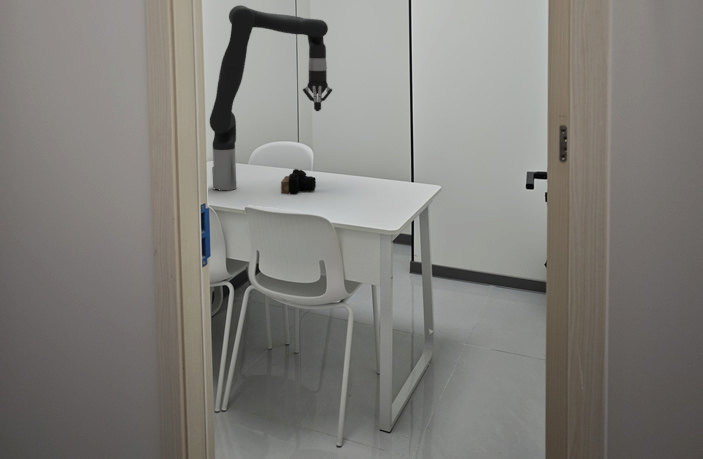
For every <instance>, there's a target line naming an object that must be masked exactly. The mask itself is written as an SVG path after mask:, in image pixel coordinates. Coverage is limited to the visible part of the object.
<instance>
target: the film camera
mask: <svg viewBox="0 0 703 459" xmlns="http://www.w3.org/2000/svg"><path fill="white" fill-rule="evenodd" d="M288 176H289V195H293V196H294V195H297V194H299V193H300V192H312V191H313V192H314V191H316V186H317V185H316V184H317V179H316V177H313V176H308V175H307V172H305V171H304V170H302V169H298V168H294V169H293V170H292V173H289V175H288Z"/></svg>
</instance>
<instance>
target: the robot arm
mask: <svg viewBox="0 0 703 459" xmlns="http://www.w3.org/2000/svg"><path fill="white" fill-rule="evenodd" d="M228 20H229V22H230V24H231V30H230V37H229V40H228V41H229V42H228V45H227V48H226V50H225V52H224V55H222V56H223V57H222V60H221V64H220V68H219V75H218V81H217V85H216V86H217V87H216V94H215V95H216V96H215V101H214V104H213V106H212V110H211V114H210V116H209V126H210V129H211V130H212V131H213V132H214V134H213V140H212V158H213V159H212V161H213V166H212V168H211V170H212V171H211V172H212V173H211V174H212V189H213V188H215V189H220V190H219V191H222V190H227V191H234V190H235V189H237V166H236V165H237V164H236V160H237V159H236V142H237V121H236V120H237V119H236V117H235V114H234V113H233V112H232V111H233V105H234V102H235V98H236V96H237V94H238V91H239V90H240V86H241V84H242V81H243V75H244V71H245V65H246V59H247V51H248V46H249V40H250V37H251V34H252V30H253V29H254V28H258V29H259V28H260V29H266V30H271V31H275V32H277V33H278V32H280V33H284V34H291V35H303V36H307V42H308V83H307V86H305V87H303V89H302V92H303V93H304V94H305V96H306V97H307V98H308V99H309V100H310V101H311V102H313V109H314V110H315V112H320V111H321V110H322V102H325V101H326V99H327V98H328V97H329V96H330V95H331V93H332V92H333V88H331V87H329V86H328V85H329V84H328V81H327V77H328V74H327V72H328V71H327V69H328V65H327V64H328V63H327V46H326V44H325V43H324V36H326V35H327V33H328V30H329V28H328V24H327V22H326V21H324V20H323V19H318V18H306V17H301V16H294V15H287V14H280V13H279V14H278V13H271V12H264V11H260V10H259V11H258V10H255V9H251V8H249V7H247V6H245V5H235V6H234V7H233V8H231V9H230V11H229V14H228ZM310 92H311V93H312V94H311V93H310ZM324 92H326V93H325V95H323V94H324ZM215 189H214V190H215ZM233 189H234V190H233Z"/></svg>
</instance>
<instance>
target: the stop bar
mask: <svg viewBox="0 0 703 459" xmlns="http://www.w3.org/2000/svg"><path fill="white" fill-rule="evenodd" d="M280 191H281V192H280V193H281V194H282V195H283V194H284V195H285V194H286V195H288V194H289V175H285V176H284V178H283V179H281V182H280ZM289 195H290V194H289Z"/></svg>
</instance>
